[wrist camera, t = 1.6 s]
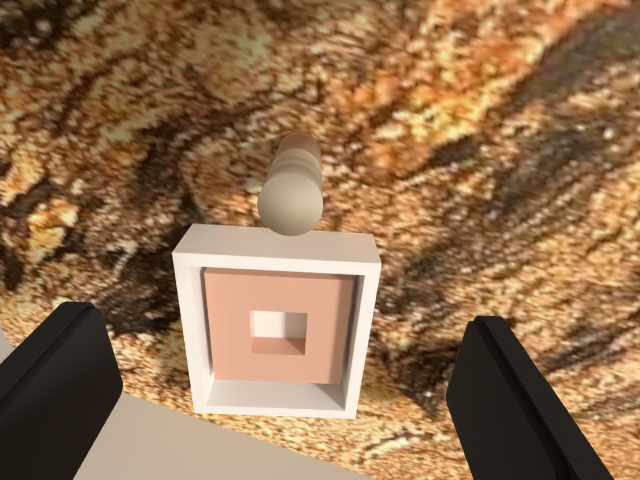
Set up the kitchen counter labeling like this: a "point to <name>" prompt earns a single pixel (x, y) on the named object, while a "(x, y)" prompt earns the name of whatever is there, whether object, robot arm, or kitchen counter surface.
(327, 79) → the kitchen counter surface
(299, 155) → the birch peg
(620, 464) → the kitchen counter surface
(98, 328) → the robot arm
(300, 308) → the bored plate
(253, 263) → the open-top box
